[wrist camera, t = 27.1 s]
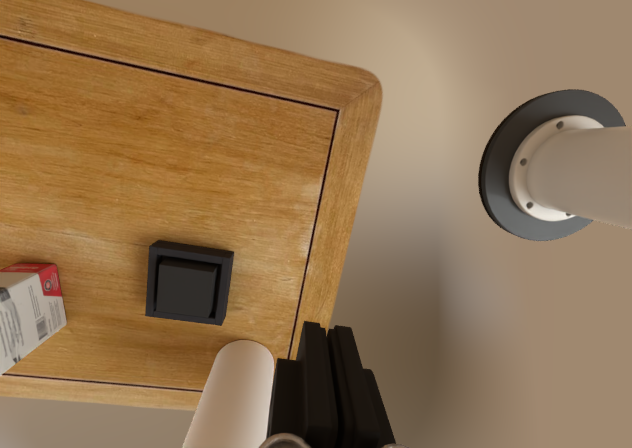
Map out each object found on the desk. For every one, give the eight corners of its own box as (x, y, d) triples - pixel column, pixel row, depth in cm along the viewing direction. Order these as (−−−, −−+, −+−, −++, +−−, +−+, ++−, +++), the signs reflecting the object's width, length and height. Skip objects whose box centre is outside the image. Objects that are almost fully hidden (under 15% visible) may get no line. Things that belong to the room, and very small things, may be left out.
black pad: (219, 263, 36) (213, 272, 34) (213, 306, 38) (208, 317, 35) (168, 256, 36) (159, 264, 33) (165, 299, 37) (156, 311, 35)
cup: (284, 353, 41) (277, 477, 26) (258, 396, 43) (237, 537, 27) (229, 330, 40) (188, 448, 24) (205, 376, 41) (151, 514, 26)
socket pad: (234, 251, 37) (230, 258, 35) (225, 315, 39) (221, 325, 37) (158, 239, 36) (149, 246, 34) (153, 306, 38) (145, 316, 36)
